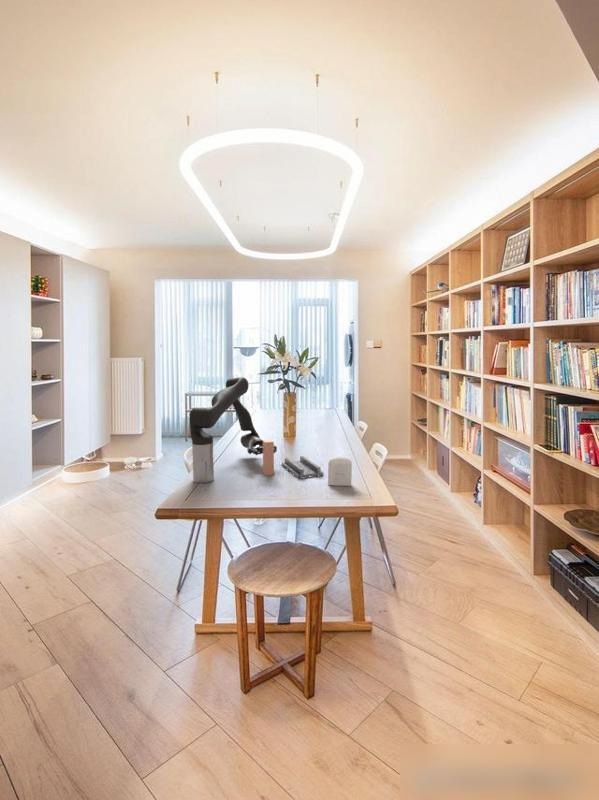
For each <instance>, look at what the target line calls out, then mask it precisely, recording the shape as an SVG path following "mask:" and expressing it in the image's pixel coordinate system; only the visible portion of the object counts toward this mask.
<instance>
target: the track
mask: <svg viewBox="0 0 599 800" xmlns="http://www.w3.org/2000/svg"><path fill="white" fill-rule="evenodd" d="M282 465H283V466H284V467H285V468H284V467H283V466H282ZM281 466H282V467H283V468H284V469H286V470H287V469H288V470H289V471H290V472H291V473H290V472H289V471H288V470H287V471H288V472H289V473H290V474H292V475H293V474H294V475H295V476H296V477H297V478H298V479H301V478H300V477H307V478H310V477H309V476H315V477H319V476H318V475H323V476H324V472H323V471H322V469H321V466H318V465H317V464H316V463H314V462H313V461H311V460H310V459H308V457H306V456H304V455H300V457H299V460H295V461H294V460H292V459H291V458H289V457H288V456H287V457H284V462H281ZM294 475H293V476H294ZM295 476H294V477H295ZM296 477H295V478H296ZM297 478H296V479H297Z"/></svg>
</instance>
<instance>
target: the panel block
mask: <svg viewBox="0 0 599 800" xmlns="http://www.w3.org/2000/svg"><path fill="white" fill-rule="evenodd" d="M262 440H263V453H262V471H263V472H262V473H263V475H265V476H266V475H267V476H274V475H275V454H274V443H275V442H274V441H273V440H271V439H262ZM273 474H274V475H273Z"/></svg>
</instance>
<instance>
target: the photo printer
mask: <svg viewBox="0 0 599 800" xmlns="http://www.w3.org/2000/svg"><path fill="white" fill-rule="evenodd" d="M327 464H328V465H327V485H328V486H336V487H337V486H338V487H339V486H340V487H342V486H343V487H351V486H352V473H353V472H352V469H353V465H352V459H350V458H347V457H342V456H337V457H331V458H329V460H328V463H327ZM350 485H351V486H350Z"/></svg>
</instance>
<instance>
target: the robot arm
mask: <svg viewBox="0 0 599 800" xmlns="http://www.w3.org/2000/svg"><path fill="white" fill-rule="evenodd" d="M225 387H226V388H223V389H220V390H219V391H218V392H217V393H215V395H213V396H212V398H211V402H210V403H211V407H194V408H192V409H191V410H190V412H189V430H190V438H191V444H192V446H191V447H192V449H191V450H192V451H191V453H192V454H191V455H192V473H193V474H192V478H193V483H198V484H199V483H202V484H207V483H209V482H212V481H214V479H215V472H214V471H215V470H214V463H215V462H214V438H213V436H212V435H211V434H209V433H206V432H205V431H204V430H203V429H212V428H214V426H215V425H216V423H217V422H218V421H219V420H220V418H221V417H222V416H223V414H225V412H226V411H227V410H228V409H229V408H231V406H232V407H233V408H234V411H235V414H236V416H237V420H238V424H239V427H240V429H241V431H242V432H249V433H245V434H244V435H242V436H241V437H240V443H241V445H242V447H244V448H246V449H247V453H248V454H249V455H251V454H252V455H256V456H258V455H263V440H264V439H261V437H260V435H259V434H258V432H257V431H256V429H255V426H254V423H253V419H252V416H251V414H250V412H249V410H248V409H247V408H246V407H245V406H244V405H243V404H242V403H241V401H240V400H239V399H240V398H241V397H242V396H243V395H245V394H246V393H247V392H248V390H249V381H248V380H247V379H246V377H244V376H238V377H232V378H228V379H227V380H226V382H225ZM277 450H278V449H277V445H274V455H275V453H276V452H277Z"/></svg>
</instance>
